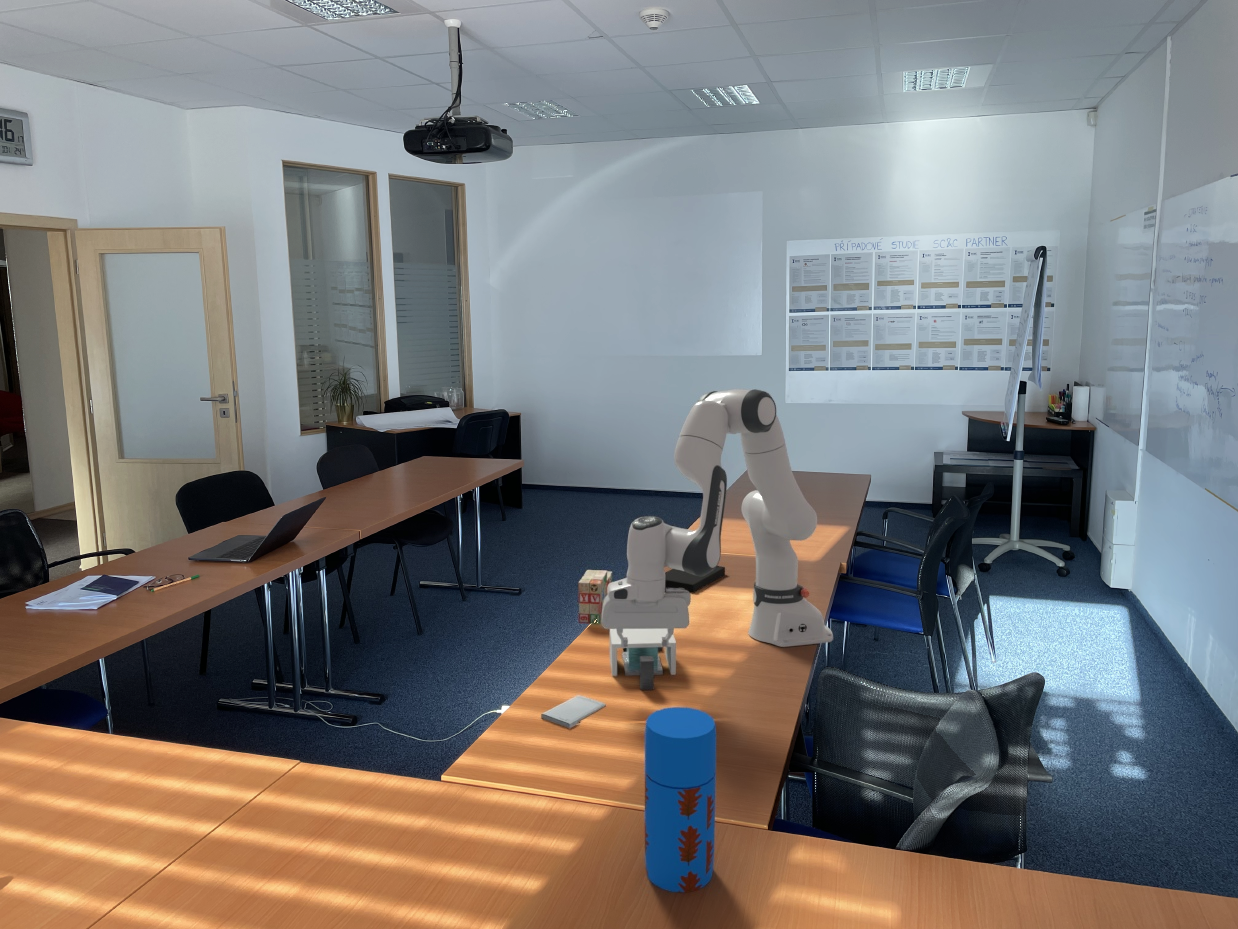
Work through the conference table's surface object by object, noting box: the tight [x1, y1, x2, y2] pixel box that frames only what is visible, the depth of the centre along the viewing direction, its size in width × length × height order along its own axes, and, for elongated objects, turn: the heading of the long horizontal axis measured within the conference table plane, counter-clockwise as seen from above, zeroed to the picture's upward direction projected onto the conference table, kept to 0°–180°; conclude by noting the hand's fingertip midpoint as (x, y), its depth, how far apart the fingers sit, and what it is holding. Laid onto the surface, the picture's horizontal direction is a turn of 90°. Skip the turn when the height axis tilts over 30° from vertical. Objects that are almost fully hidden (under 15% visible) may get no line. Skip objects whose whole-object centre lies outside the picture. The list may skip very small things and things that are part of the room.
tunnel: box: [609, 629, 677, 677], centre depth 218 cm, size 15×12×8 cm
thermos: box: [644, 706, 717, 893], centre depth 137 cm, size 11×11×25 cm
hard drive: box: [540, 694, 606, 729], centre depth 194 cm, size 2×8×12 cm
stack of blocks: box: [578, 569, 614, 625], centre depth 259 cm, size 21×6×12 cm, turn 171°
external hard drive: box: [665, 565, 726, 594], centre depth 290 cm, size 14×23×3 cm, turn 148°
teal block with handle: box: [621, 647, 664, 691], centre depth 214 cm, size 9×20×7 cm, turn 3°
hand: (644, 645), depth 204 cm, fingers open, 8 cm apart
